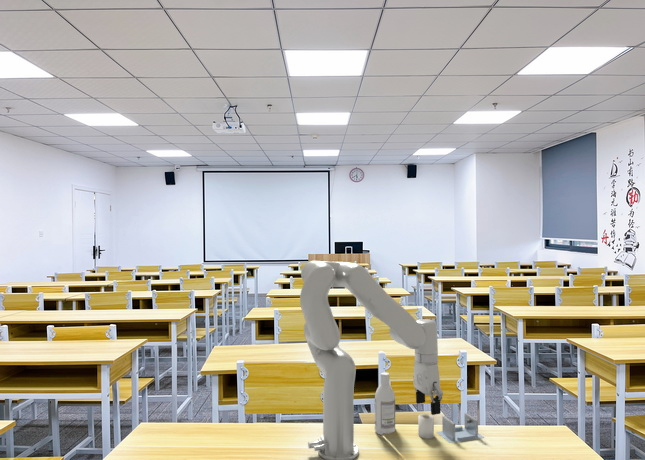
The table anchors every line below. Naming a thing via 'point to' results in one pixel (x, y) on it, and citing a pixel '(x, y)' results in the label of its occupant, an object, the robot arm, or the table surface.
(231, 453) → the table surface
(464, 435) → the holder
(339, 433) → the robot arm
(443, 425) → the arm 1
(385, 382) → the bath foam
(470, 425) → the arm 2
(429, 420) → the roll
